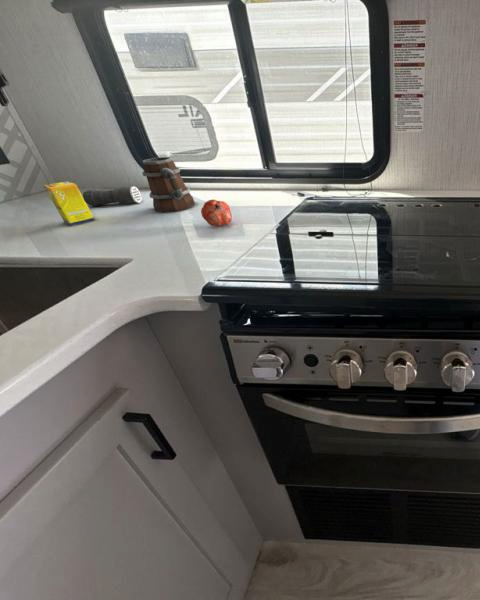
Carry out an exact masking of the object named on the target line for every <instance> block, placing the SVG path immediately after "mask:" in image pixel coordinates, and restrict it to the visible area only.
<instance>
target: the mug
mask: <svg viewBox="0 0 480 600" xmlns="http://www.w3.org/2000/svg"><path fill="white" fill-rule="evenodd" d="M142 168H143V171H142V173H141V174H142V176H143V177H146V180H147V183H148V187H149V190H150V192H149V196H148V197H149V198H150V199H152V200H153V201H152V205H153V209H154V211H155V212H158V213H159V212H160V213H173V212H174V213H175V212H179V211H184V210H188V209H190V208H192V207H195V206H196V202H195V198H194V197H193V196H192V193H191V189H190V187H189V186H187V185H186V184H185V182H184V180H183V178H182V175H181V174H180V172H181V168H180V167H179V166H177V165H176V163H175V161H174V160H173V159H172V157H170V156H169V157H168V156H161V157H152V158H147V159H143V160H142Z"/></svg>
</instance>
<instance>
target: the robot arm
mask: <svg viewBox="0 0 480 600" xmlns="http://www.w3.org/2000/svg"><path fill="white" fill-rule="evenodd" d="M9 86H10V82H9V80H8V79H7V77H6V76H5V74H4V72H3V71H2V69H1V68H0V105H1V107H9V104H10V100H9V98H8V96H7V94H6V93H5V91H4V88H6V87H9Z"/></svg>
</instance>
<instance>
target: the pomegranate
mask: <svg viewBox="0 0 480 600" xmlns="http://www.w3.org/2000/svg"><path fill="white" fill-rule="evenodd" d="M200 214H201V217H202V218H203V219H204V221H206V223H207V224H208V225H210V226H213V227H221V226H227V225H228V224H230V223H231V222H232V219H233V216H232V211H231V208H230V205H229V204H228V203H227V202H225V201H223V200H218V199H217V200H216V199H209V200H207V201H205V202H204V204H203V206H202V207H201V210H200Z"/></svg>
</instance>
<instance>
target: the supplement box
mask: <svg viewBox="0 0 480 600" xmlns="http://www.w3.org/2000/svg"><path fill="white" fill-rule="evenodd" d="M43 188H44V190H45V191H46V193H47V195H48V197H49V199H50V200H51V201H52V204H53V205H54V207H55V208H56V210H57V212H58V214H59V215H60V217H61V219H62V220H63V222H64V223H66V224H68V225H69V226H71V227H73V226H77V225H81V224H84V223H89V222H93V221H95V220H96V218H94V215H93V213H92V212H91V209H90V208H89V205H88V204H87V203H86V202H85V201H84V199H83V194H82V193H81V191H80V189H79V187H78V185H77V184H76V183H73V182H71V181H69V180H67V181H62V182H61V181H60V182H55V183H48V184H43Z"/></svg>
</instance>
